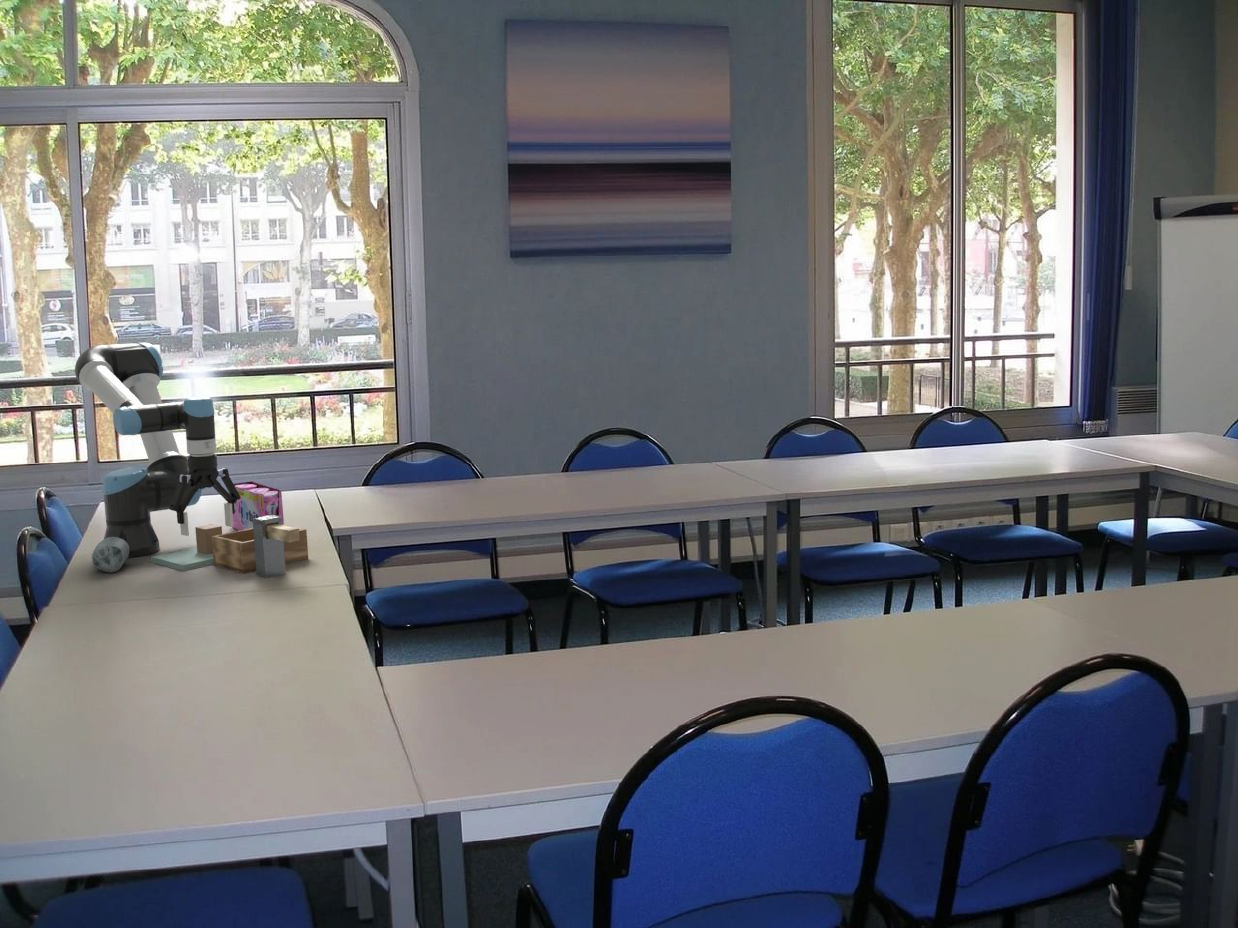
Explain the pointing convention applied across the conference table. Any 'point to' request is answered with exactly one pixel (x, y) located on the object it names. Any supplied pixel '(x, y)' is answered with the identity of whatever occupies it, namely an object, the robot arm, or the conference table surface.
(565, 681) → the conference table surface
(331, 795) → the conference table surface
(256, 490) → the gum box
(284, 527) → the wooden bar
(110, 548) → the spool
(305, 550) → the open wooden box
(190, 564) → the lid
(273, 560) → the keeper
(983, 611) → the conference table surface
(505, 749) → the conference table surface
